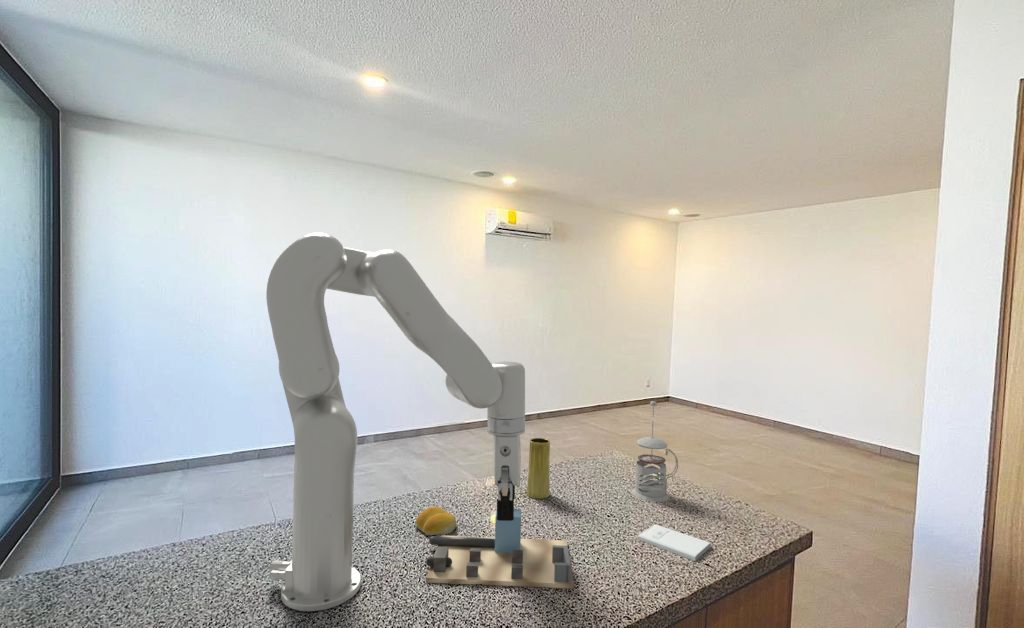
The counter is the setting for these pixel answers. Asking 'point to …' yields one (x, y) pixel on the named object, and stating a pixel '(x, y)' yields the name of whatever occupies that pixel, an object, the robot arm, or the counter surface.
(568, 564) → the end holder
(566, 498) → the counter surface
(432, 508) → the bread roll
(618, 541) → the counter surface
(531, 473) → the vase
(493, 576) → the board
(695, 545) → the external hard drive
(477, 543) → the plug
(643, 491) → the french press
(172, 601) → the counter surface
